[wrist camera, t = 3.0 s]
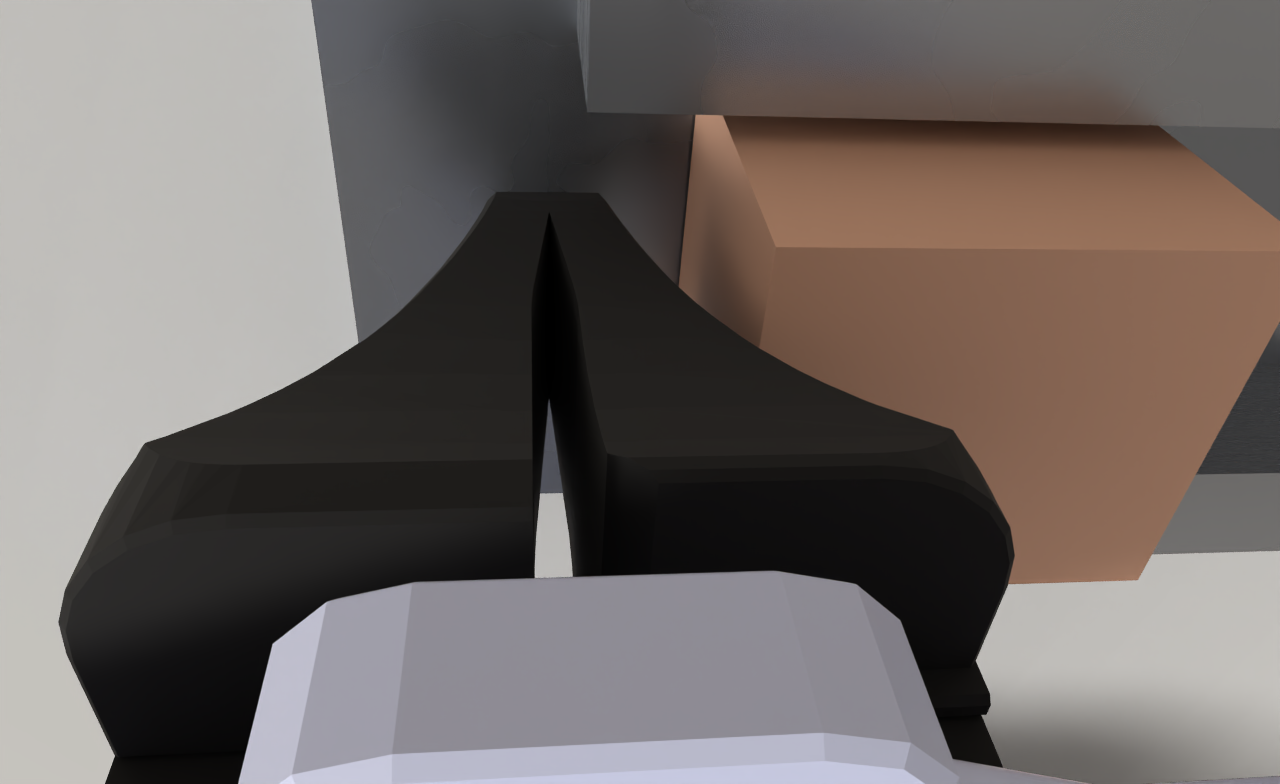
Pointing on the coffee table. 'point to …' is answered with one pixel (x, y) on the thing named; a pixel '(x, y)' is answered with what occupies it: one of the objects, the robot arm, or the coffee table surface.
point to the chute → (777, 87)
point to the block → (1001, 301)
